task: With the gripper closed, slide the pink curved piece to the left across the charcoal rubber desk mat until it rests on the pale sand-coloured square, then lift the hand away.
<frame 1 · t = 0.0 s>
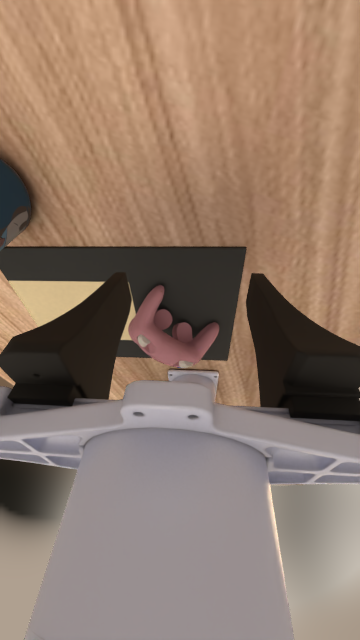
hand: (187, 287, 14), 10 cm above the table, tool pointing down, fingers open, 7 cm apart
pink curved piece: (176, 314, 30), resting on desk mat
desk mat: (128, 312, 31), on the table
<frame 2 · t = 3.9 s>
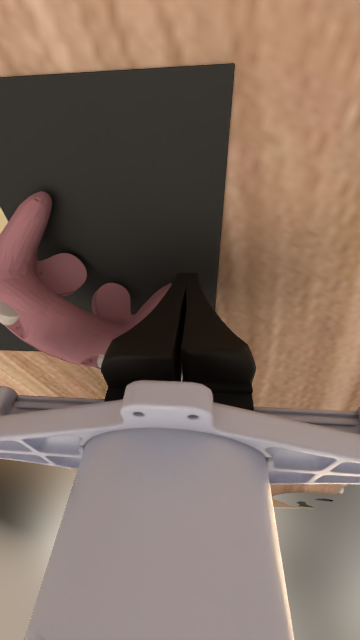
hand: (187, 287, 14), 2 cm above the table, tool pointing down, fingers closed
pink curved piece: (101, 268, 16), resting on desk mat, touching gripper
desk mat: (23, 267, 17), on the table
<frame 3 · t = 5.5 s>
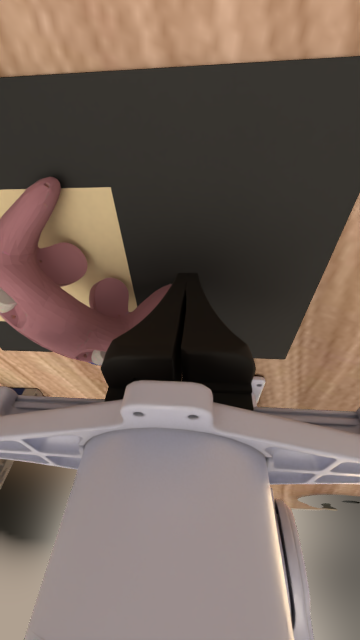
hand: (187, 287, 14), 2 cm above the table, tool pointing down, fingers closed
pink curved piece: (101, 262, 16), resting on desk mat, touching gripper
desk mat: (115, 268, 16), on the table
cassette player: (15, 390, 30), on the table
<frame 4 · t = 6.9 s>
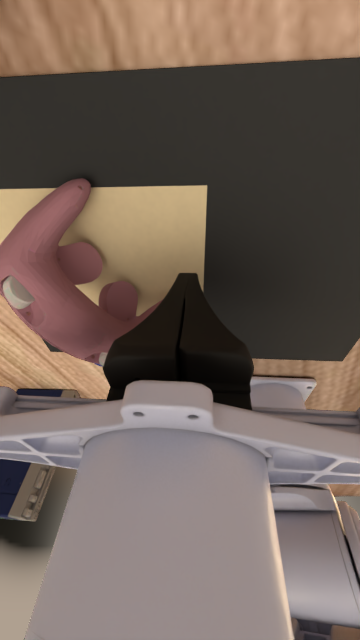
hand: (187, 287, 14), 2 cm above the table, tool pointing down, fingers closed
pink curved piece: (114, 264, 16), resting on desk mat, touching gripper
desk mat: (188, 268, 16), on the table
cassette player: (51, 392, 30), on the table
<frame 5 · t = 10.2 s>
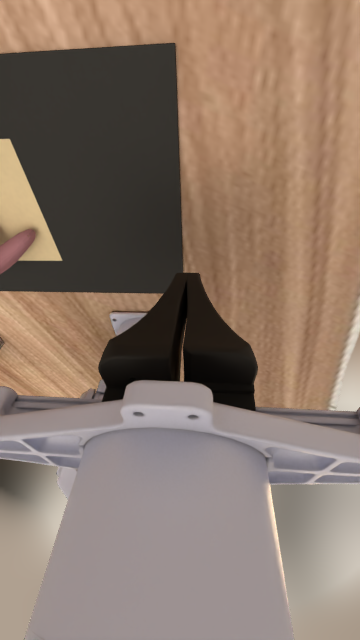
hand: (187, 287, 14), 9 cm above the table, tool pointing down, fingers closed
desk mat: (31, 208, 21), on the table
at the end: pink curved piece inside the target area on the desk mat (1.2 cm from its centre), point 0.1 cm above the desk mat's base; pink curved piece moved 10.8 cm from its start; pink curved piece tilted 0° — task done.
